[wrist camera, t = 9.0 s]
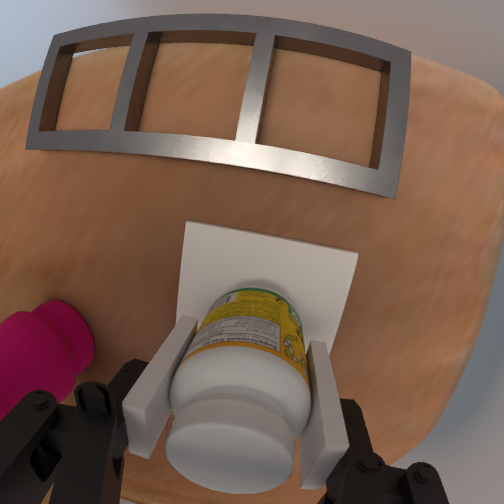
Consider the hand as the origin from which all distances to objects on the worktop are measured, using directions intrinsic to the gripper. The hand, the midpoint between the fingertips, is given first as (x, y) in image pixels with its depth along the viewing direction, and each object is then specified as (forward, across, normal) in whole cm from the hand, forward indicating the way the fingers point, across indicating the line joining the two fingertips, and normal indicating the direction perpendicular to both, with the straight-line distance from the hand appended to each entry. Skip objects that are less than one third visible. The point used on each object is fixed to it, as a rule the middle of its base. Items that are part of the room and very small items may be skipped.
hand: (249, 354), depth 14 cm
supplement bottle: (+3, 0, 0) cm, 3 cm away
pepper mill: (+5, -15, -6) cm, 17 cm away
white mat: (+5, 0, 0) cm, 5 cm away
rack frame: (+5, -6, +13) cm, 15 cm away
